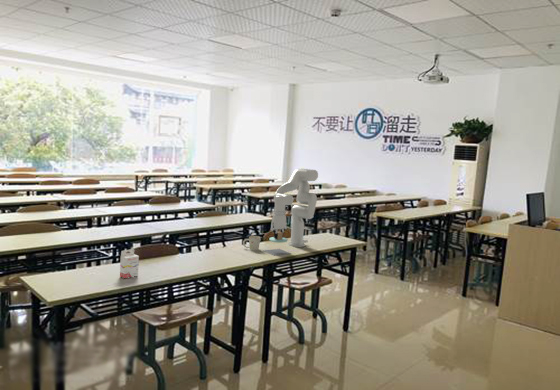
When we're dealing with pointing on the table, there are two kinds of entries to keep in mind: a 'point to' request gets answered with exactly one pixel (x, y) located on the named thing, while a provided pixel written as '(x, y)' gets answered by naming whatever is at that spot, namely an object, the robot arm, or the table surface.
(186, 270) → the table surface
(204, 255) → the table surface
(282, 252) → the mat
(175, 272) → the table surface
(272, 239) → the lid
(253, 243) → the mug
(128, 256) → the ink cartridge box
